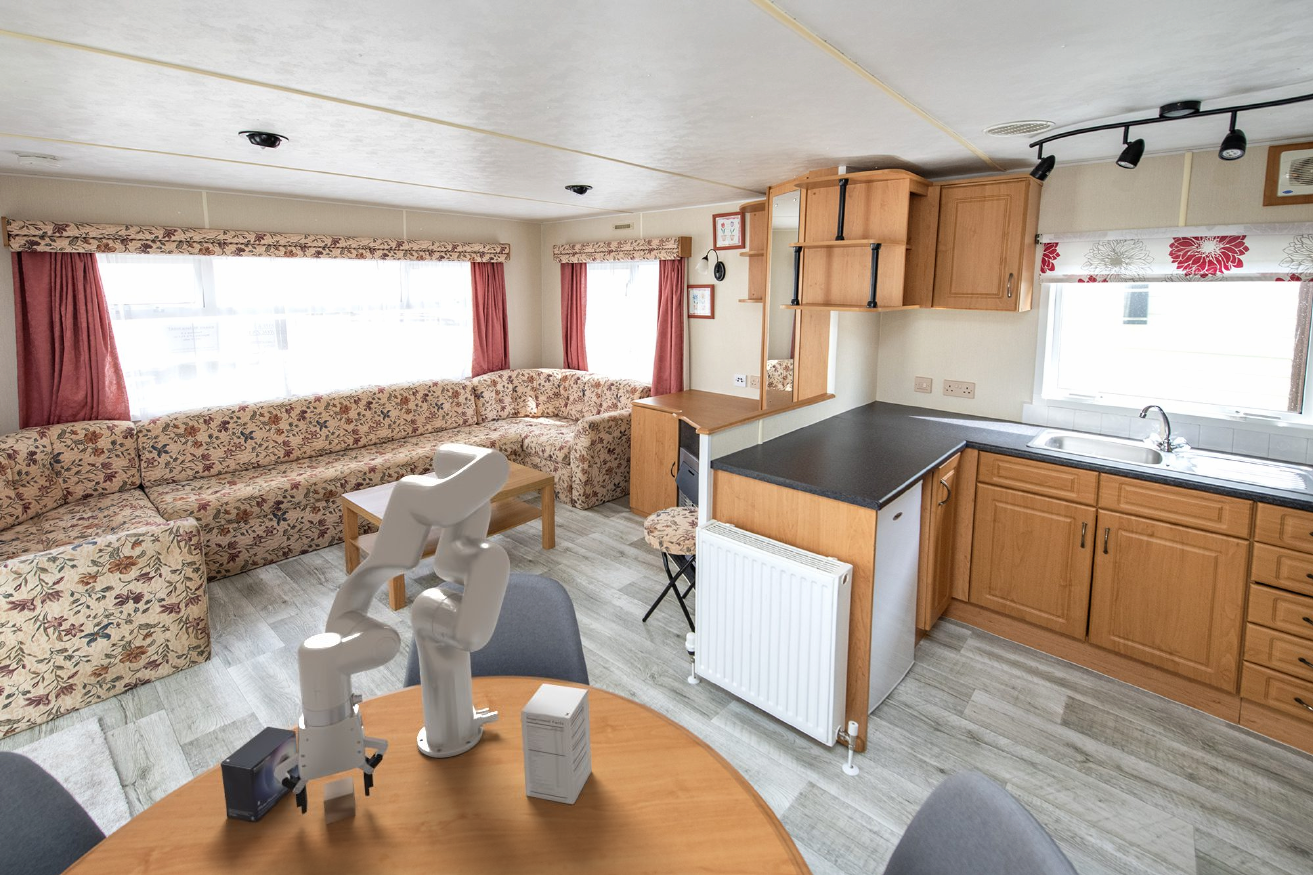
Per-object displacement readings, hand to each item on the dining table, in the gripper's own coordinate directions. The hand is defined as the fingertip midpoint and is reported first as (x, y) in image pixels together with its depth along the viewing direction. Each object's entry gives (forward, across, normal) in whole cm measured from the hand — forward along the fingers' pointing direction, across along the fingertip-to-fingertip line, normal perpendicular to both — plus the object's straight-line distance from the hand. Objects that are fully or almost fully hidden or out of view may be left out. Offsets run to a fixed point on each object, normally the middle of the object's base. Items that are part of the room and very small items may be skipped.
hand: (336, 799), depth 111 cm
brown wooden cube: (+3, 0, 0) cm, 3 cm away
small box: (+3, +12, -9) cm, 15 cm away
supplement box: (+2, -36, +10) cm, 38 cm away
